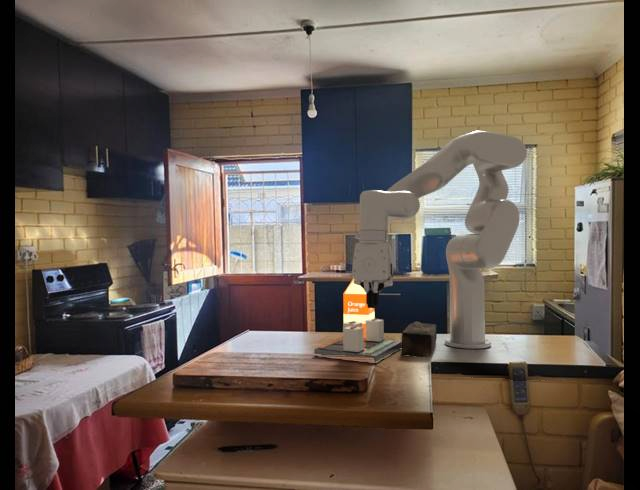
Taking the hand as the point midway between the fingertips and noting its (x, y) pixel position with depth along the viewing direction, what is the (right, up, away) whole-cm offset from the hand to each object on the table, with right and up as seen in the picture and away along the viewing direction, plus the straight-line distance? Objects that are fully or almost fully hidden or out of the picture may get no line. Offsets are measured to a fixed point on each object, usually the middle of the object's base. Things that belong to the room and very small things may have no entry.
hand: (372, 307), depth 121 cm
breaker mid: (-5, -10, +3) cm, 12 cm away
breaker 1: (-5, -10, -5) cm, 12 cm away
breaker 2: (+2, -10, +8) cm, 13 cm away
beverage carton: (+14, -13, +6) cm, 20 cm away
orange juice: (-2, -13, +18) cm, 22 cm away
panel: (-3, -12, +2) cm, 13 cm away
